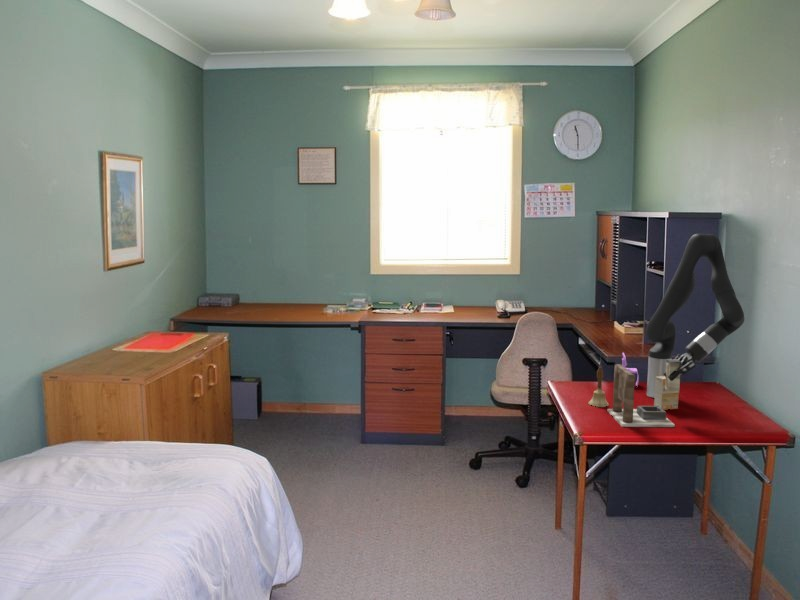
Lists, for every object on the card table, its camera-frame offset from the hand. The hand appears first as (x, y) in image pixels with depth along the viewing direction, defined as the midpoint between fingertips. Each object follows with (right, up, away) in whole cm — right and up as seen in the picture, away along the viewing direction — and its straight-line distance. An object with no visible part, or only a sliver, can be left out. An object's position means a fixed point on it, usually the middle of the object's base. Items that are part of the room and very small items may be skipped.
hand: (667, 377), depth 278 cm
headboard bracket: (-10, -16, +2) cm, 19 cm away
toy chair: (+2, -9, +55) cm, 55 cm away
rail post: (+2, -5, +1) cm, 6 cm away
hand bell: (-20, -14, +22) cm, 33 cm away
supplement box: (+6, -15, +17) cm, 23 cm away
